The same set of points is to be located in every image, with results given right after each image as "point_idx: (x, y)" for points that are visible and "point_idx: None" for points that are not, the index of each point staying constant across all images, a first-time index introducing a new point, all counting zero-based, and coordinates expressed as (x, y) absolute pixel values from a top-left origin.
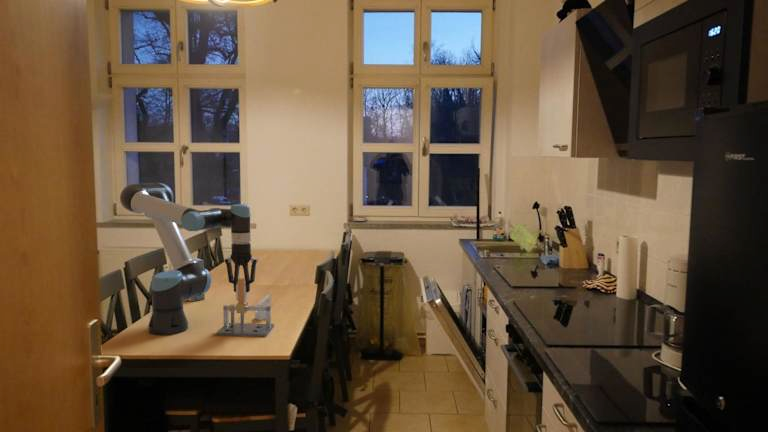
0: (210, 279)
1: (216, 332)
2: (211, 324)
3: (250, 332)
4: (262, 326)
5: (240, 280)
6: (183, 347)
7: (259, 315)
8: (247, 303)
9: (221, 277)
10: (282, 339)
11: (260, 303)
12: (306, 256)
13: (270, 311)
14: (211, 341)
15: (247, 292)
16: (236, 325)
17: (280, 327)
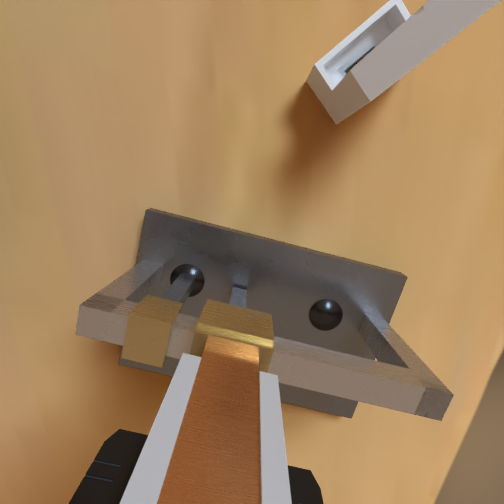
0: None
1: (119, 362)
2: (61, 164)
3: (280, 390)
4: (342, 314)
5: None
6: (25, 466)
7: (340, 113)
8: (272, 344)
9: None
10: (410, 450)
11: (380, 76)
12: None
13: (428, 368)
14: (119, 422)
15: (283, 430)
16: (205, 267)
17: (430, 288)
